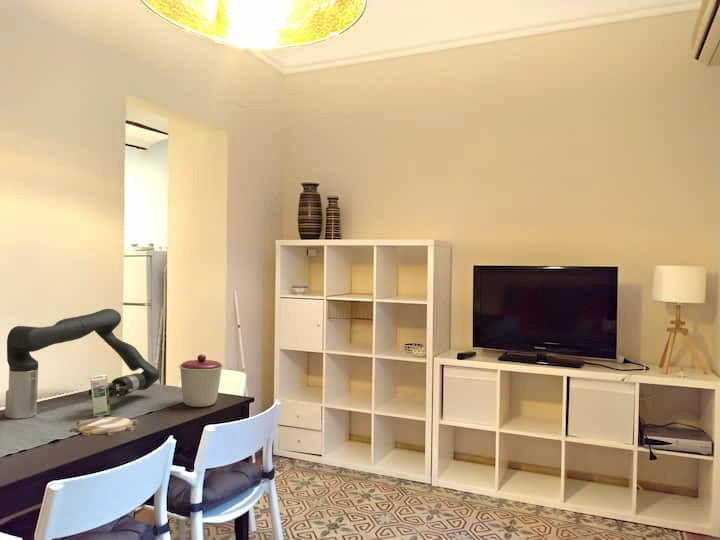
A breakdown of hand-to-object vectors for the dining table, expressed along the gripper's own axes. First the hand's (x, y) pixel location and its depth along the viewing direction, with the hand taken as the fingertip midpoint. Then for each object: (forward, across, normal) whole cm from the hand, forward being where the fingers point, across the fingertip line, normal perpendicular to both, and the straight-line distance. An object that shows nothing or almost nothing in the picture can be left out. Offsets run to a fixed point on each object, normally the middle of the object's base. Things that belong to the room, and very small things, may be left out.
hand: (99, 393), depth 210 cm
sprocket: (+11, +11, +9) cm, 18 cm away
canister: (-29, +27, +8) cm, 40 cm away
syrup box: (-2, 0, +8) cm, 8 cm away
